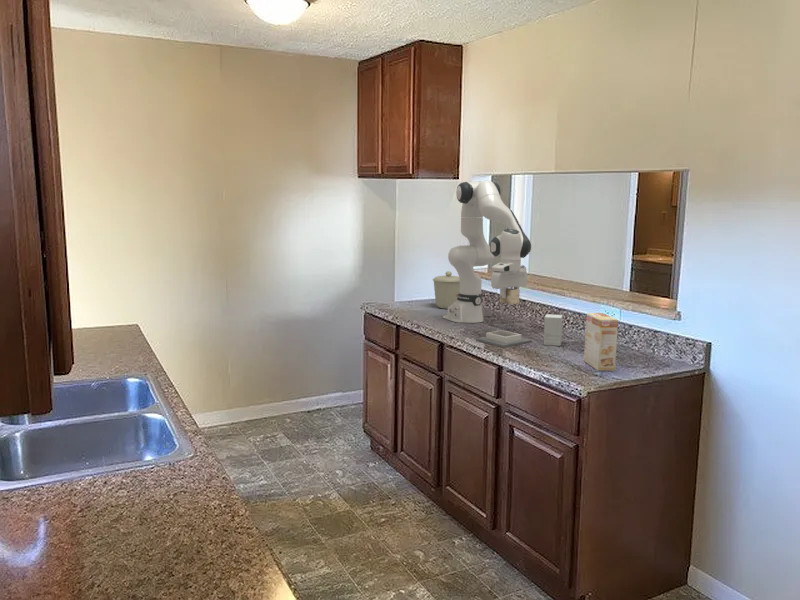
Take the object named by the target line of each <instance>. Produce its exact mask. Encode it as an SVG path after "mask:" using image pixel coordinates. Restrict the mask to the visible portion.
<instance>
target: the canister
mask: <svg viewBox="0 0 800 600" xmlns="http://www.w3.org/2000/svg"><path fill="white" fill-rule="evenodd" d="M452 274H453V273H452V271H450V270H447V271H445V274H444V275H438V276H435V277H434V278H432V281H433V288H434V297H435V304H436V307H437V308H440V309H443V310H448V307H449V306H450V305H451V304H453V303H454V302H455V301H456V300H457V298H458V296H457V295H456V294H459V293H460V280H459V275H452Z"/></svg>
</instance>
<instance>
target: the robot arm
mask: <svg viewBox="0 0 800 600" xmlns="http://www.w3.org/2000/svg"><path fill="white" fill-rule="evenodd" d="M501 193H502V192H501V187H500V185H499V183H498V182H494V181H491V180H479V181H463V182H460V183H459V184H458V185H457V187H456V194H455V195H456V199H457V201H458V202H459V203H462V205H461V212H460V233H461V234H462V236H463V237H465V238H466V239H467V240H468V245H467V244H466V245H457V246H453V247H451V248H450V249H449V252H448V256H447V257H448V258H447V259H448V261H449V264H450V266H452V267H454V269H455V270H456V272H457V274H458V275H457V276H458V277H459V280H460V293H459V294H456V295H457V296H458V298H457V300H456V301H455V302H454V303H453V304H451V305H450V306H449V307H448V309H447V314H444V315H443V316H442V319H445V320H448V321H451V322H454V323H467V324H472V323H473V324H475V323H483V322H484V320H485V319H484V316H483V315H484V314H483V305H482V302H483V293H482V283H483V282H482V277H481V276H479V275H478V274H476V273H475V270H474V268H475V267H485V266H489V265H491V264H492V263H493V261H494V259H495V257H496V258H500V261H499V262H498V263H496V264H494V265H493V266H492V267H491V271H492V273H491V277H490V278H491V280H490V284H491V285H490V286H491V288H492V289H495V290H499V292H500V291H501V293H502V298H507V294H506V293H505V291H506V288H513V289H519V290H520V287H526V286H527V285H528V284H529V283H528V282H529V281H528V279H529V278H528V272H527V267H526V265H524V264H522V265H521V261H522V259H524V258H526V257H527V256H528V255H529V254H530V253H531V250H532V244H531V241H530V239H529V238H528V236H527V235H526V234H525V232H524V230H523V228H522V226H521V224H520V222H519V221H518V219H517V217H516V215H515V213H514V211H513V210H512V209H510V208H509V207H508V206H507V205H506V204H505V203H504V201H503V200H502V198H501ZM484 218H485V219H487V220H490V221H492V222H495V223H500V224H502V225H504V226H505V227H507V228H506V229H503V230H502V232H501V234H499V235H497V236H494V237H493V238H492V239H491V241H490V242H489V243H488V242H487V239H486V238H485V235H484Z"/></svg>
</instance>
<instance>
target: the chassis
mask: <svg viewBox="0 0 800 600" xmlns="http://www.w3.org/2000/svg"><path fill="white" fill-rule="evenodd" d="M475 341H477V342H480V343H483V344H484V343H485V344H488V345H492V346H495V345H496V347H499V348H509V347H515V346H519V345H524V344H531V343H533V340H532V339H530V338H525V337H523V334H520V333H517V332H512V331H508V330H503V329H501V330H494V331H489V332H486V335H485V336H481V337H476V338H475Z"/></svg>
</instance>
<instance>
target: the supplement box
mask: <svg viewBox="0 0 800 600" xmlns="http://www.w3.org/2000/svg"><path fill="white" fill-rule="evenodd" d="M543 318H544V320H543V321H544V323H543V324H544V325H543V326H544V327H543V346H555V347H561V345H562V340H563V320H564V318H563V314H550V313H549V314H548V313H547V314H545V316H544V317H543Z"/></svg>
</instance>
